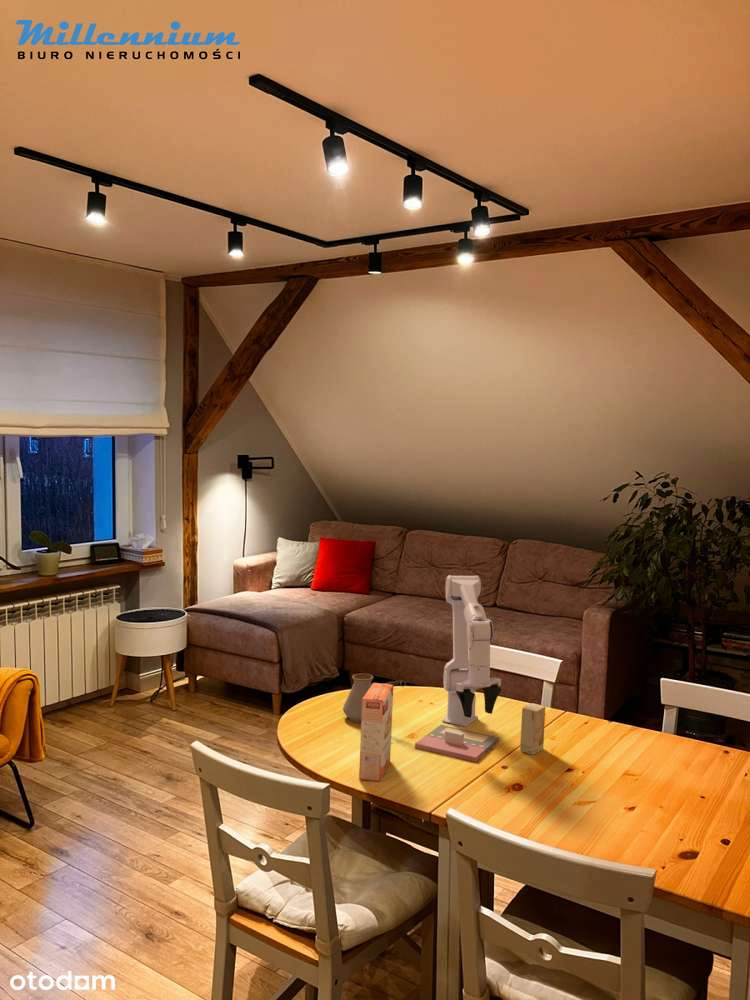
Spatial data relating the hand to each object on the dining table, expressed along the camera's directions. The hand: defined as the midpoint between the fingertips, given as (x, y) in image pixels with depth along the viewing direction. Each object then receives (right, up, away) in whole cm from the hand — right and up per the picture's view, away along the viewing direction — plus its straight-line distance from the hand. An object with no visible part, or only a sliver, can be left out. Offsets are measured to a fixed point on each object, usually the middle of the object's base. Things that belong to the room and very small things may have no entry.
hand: (478, 714), depth 223 cm
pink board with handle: (-8, -10, +2) cm, 13 cm away
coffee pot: (-28, -8, +22) cm, 37 cm away
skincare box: (+15, -11, +4) cm, 19 cm away
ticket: (-3, -10, +9) cm, 14 cm away
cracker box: (-28, -11, -13) cm, 33 cm away
